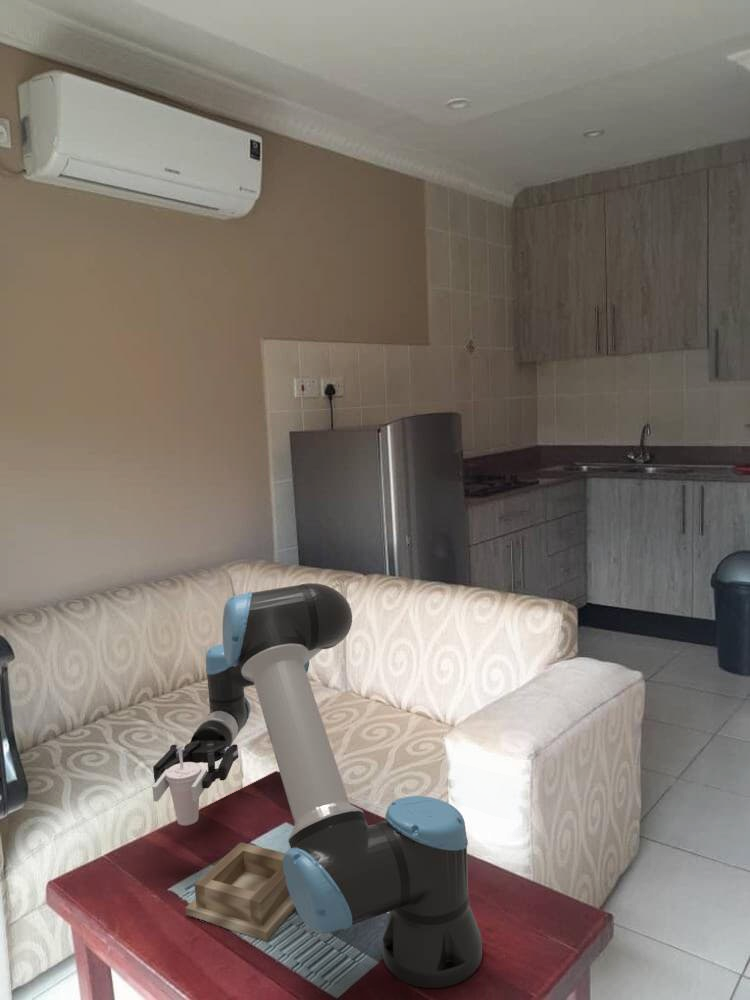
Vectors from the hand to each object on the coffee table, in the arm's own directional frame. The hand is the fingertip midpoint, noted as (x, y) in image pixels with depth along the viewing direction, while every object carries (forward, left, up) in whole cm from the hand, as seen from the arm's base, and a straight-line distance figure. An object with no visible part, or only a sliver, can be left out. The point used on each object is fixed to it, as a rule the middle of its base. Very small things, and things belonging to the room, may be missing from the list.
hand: (174, 794), depth 136 cm
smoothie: (+2, -5, -8) cm, 9 cm away
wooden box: (-14, -1, -17) cm, 22 cm away
